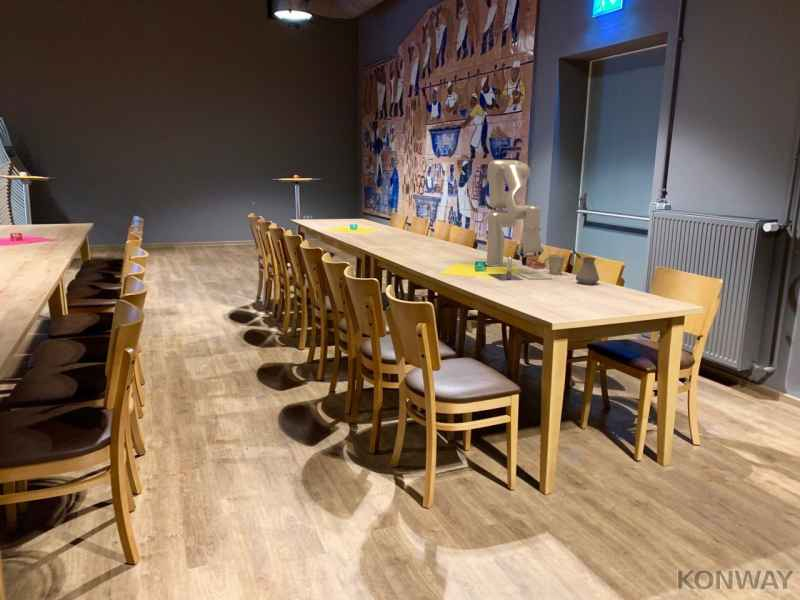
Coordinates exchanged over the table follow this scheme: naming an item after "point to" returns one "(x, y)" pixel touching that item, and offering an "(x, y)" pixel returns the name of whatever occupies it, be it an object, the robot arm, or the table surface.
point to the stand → (506, 276)
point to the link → (534, 262)
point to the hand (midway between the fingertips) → (529, 264)
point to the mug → (555, 264)
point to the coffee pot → (587, 271)
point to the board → (532, 275)
